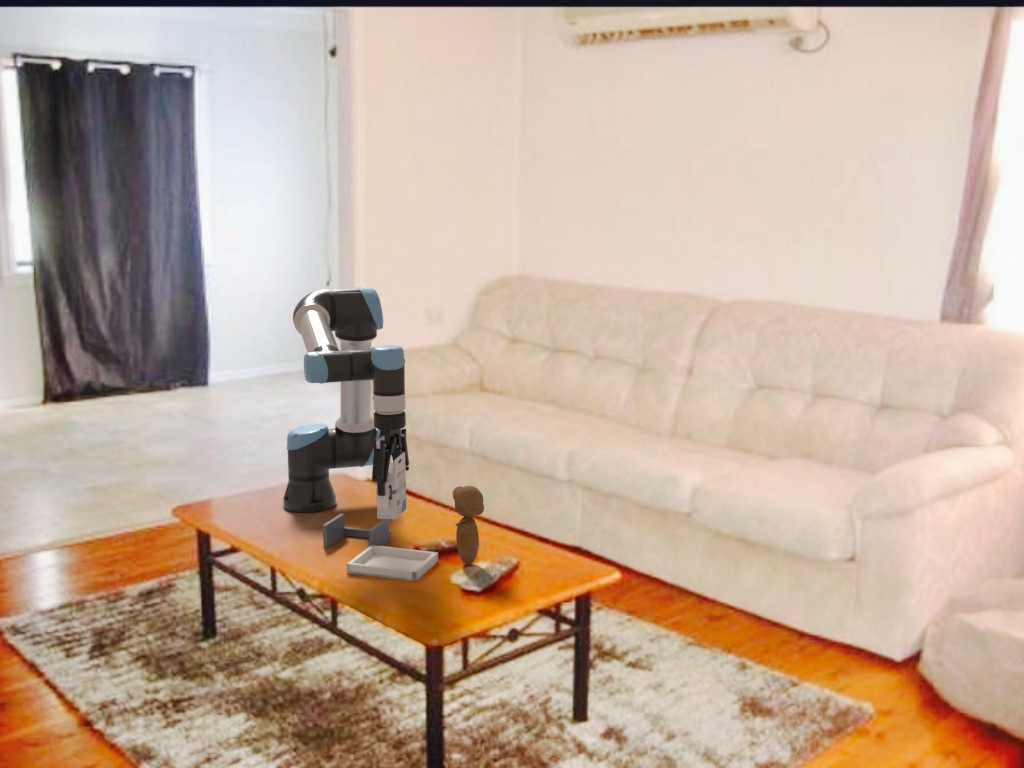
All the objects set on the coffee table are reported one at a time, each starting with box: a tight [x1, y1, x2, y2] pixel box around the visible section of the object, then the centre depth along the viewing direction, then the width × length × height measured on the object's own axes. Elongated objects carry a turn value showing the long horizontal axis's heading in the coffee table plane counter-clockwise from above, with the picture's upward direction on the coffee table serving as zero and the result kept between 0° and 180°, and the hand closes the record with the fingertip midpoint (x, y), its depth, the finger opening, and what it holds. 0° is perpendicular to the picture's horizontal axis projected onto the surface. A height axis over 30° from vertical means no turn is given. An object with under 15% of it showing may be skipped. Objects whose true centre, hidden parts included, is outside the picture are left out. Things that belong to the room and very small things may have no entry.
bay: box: [322, 513, 392, 549], centre depth 269 cm, size 11×14×6 cm
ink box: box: [375, 452, 407, 520], centre depth 249 cm, size 9×5×15 cm, turn 168°
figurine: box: [452, 485, 485, 566], centre depth 253 cm, size 9×7×20 cm
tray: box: [346, 545, 439, 582], centre depth 253 cm, size 14×18×2 cm
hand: (391, 502), depth 250 cm, fingers closed on ink box, 9 cm apart
